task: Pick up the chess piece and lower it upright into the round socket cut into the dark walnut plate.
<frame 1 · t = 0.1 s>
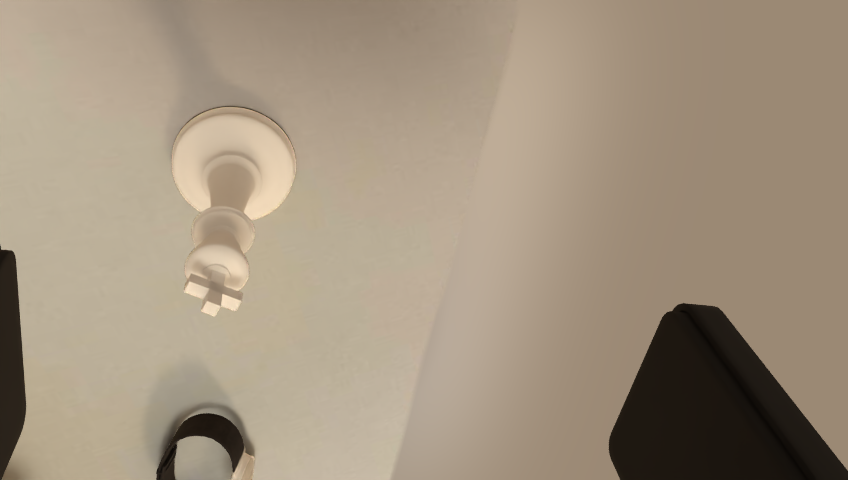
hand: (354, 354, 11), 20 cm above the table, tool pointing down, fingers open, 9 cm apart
watch: (208, 455, 40), on the table
chess piece: (235, 161, 31), on the table
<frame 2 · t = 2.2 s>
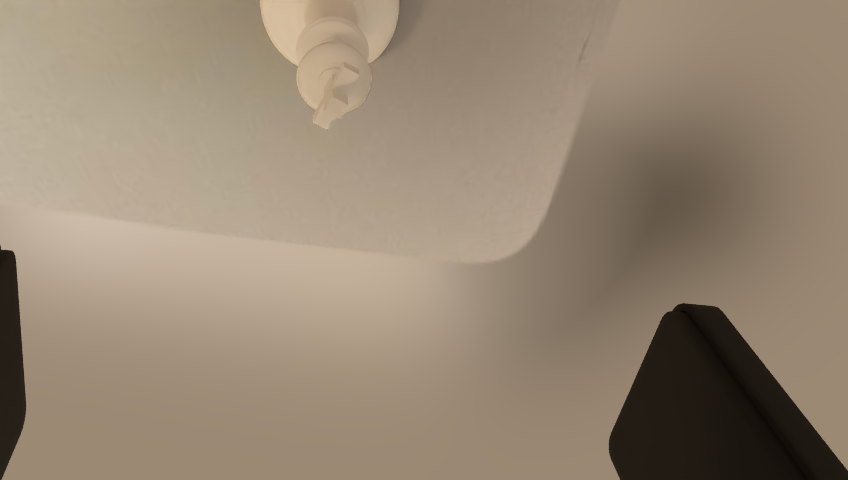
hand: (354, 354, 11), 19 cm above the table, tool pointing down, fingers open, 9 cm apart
chess piece: (330, 3, 27), on the table
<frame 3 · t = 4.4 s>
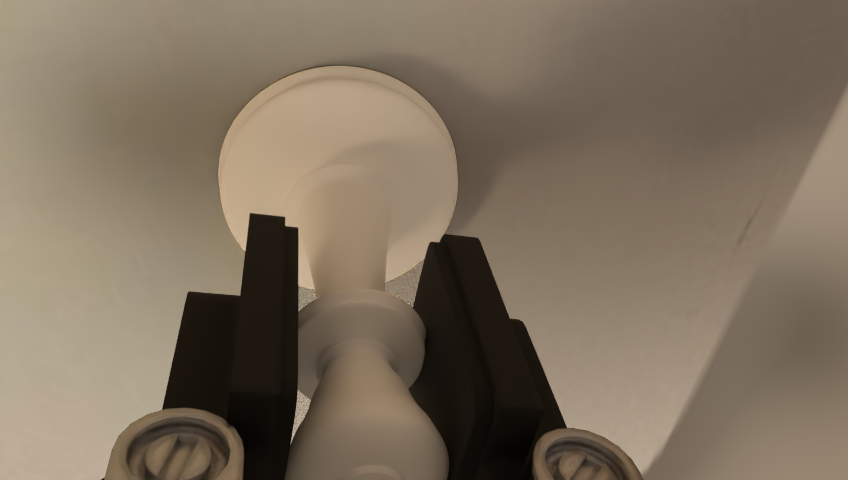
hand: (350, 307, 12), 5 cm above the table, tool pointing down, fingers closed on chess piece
chess piece: (339, 175, 16), on the table, touching gripper
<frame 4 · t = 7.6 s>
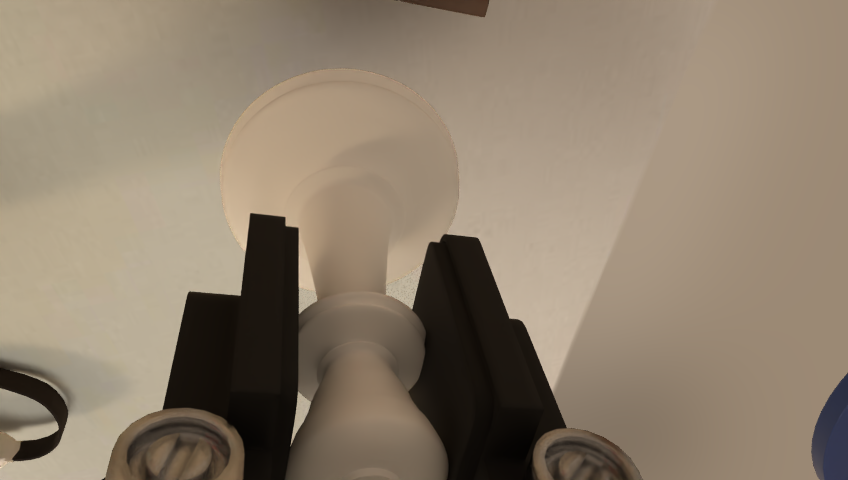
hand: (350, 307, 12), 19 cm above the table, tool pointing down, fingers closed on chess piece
chess piece: (341, 177, 16), point 14 cm above the table, touching gripper
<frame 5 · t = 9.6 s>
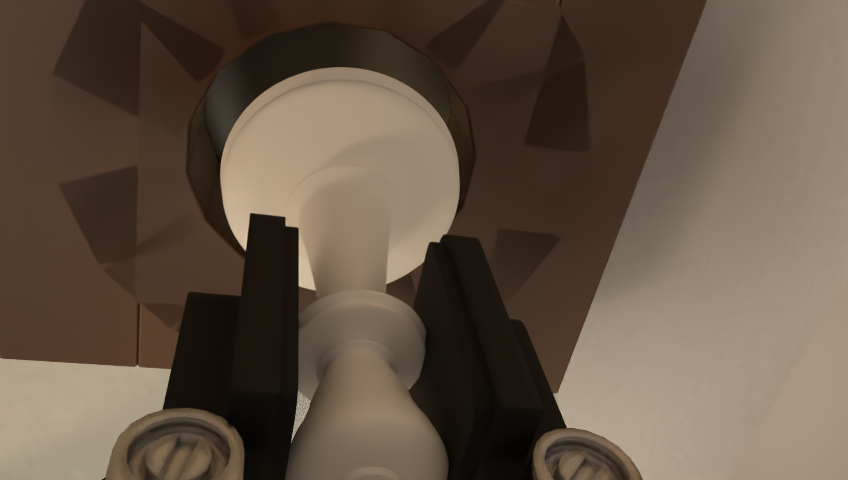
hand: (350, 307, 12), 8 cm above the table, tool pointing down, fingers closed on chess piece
socket plate: (330, 113, 19), on the table
chess piece: (341, 176, 16), point 3 cm above the table, touching gripper
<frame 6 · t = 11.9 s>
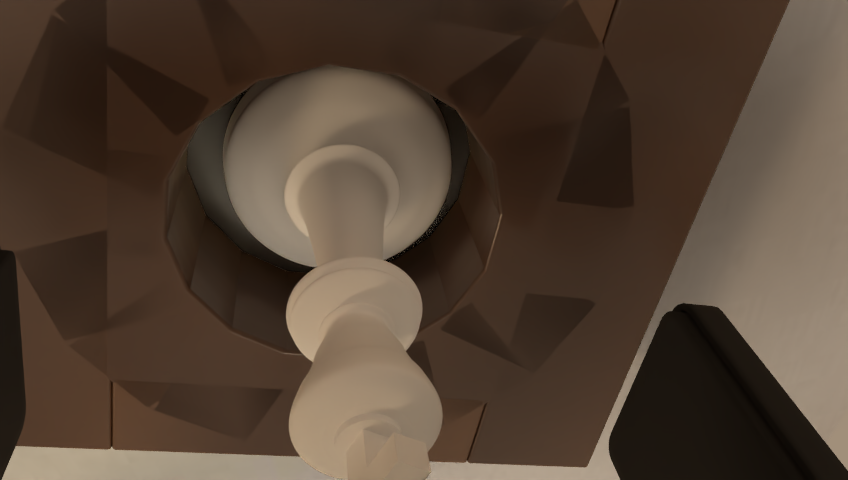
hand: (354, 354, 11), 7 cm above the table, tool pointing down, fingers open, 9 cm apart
socket plate: (331, 157, 17), on the table
chess piece: (338, 157, 17), resting in socket plate
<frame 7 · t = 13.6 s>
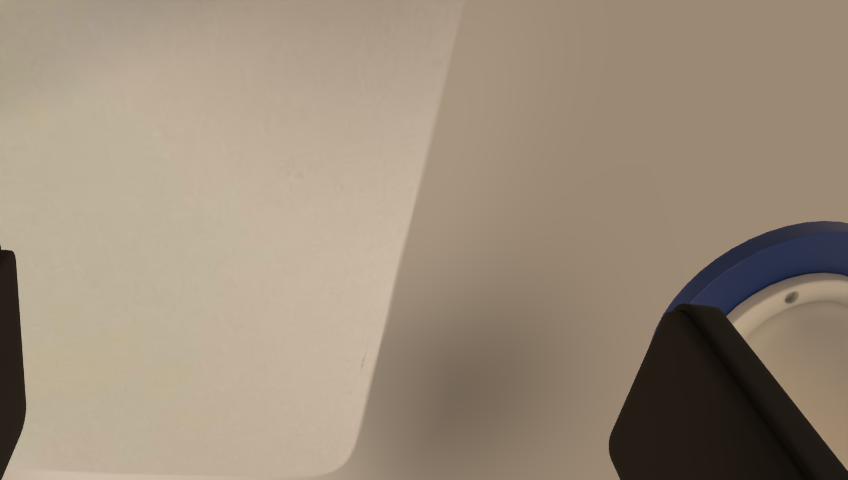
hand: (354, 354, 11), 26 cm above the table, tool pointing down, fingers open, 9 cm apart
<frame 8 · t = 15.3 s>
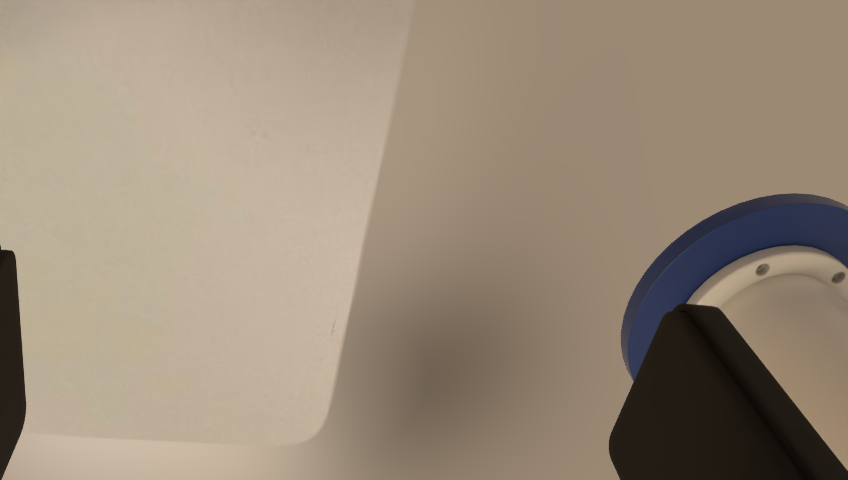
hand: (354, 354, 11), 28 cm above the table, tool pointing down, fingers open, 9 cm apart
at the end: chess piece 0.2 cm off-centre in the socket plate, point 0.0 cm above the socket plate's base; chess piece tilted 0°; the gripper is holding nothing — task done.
